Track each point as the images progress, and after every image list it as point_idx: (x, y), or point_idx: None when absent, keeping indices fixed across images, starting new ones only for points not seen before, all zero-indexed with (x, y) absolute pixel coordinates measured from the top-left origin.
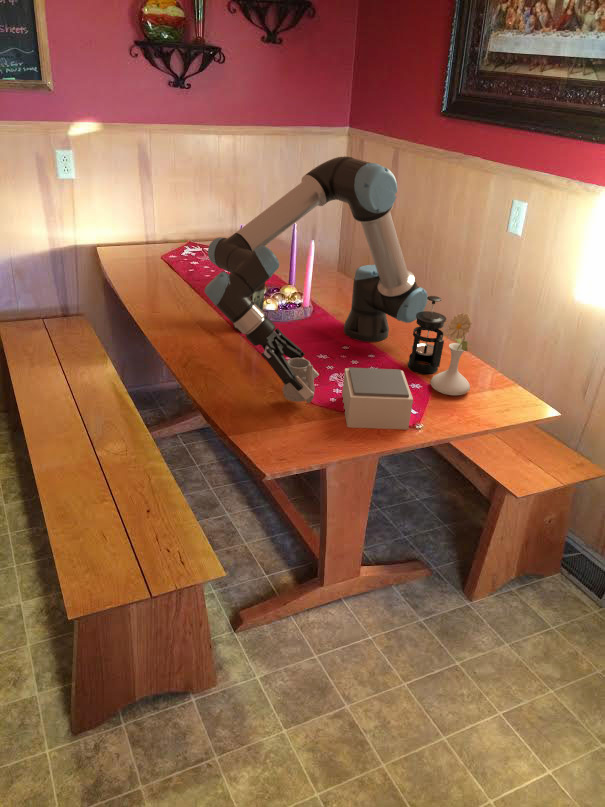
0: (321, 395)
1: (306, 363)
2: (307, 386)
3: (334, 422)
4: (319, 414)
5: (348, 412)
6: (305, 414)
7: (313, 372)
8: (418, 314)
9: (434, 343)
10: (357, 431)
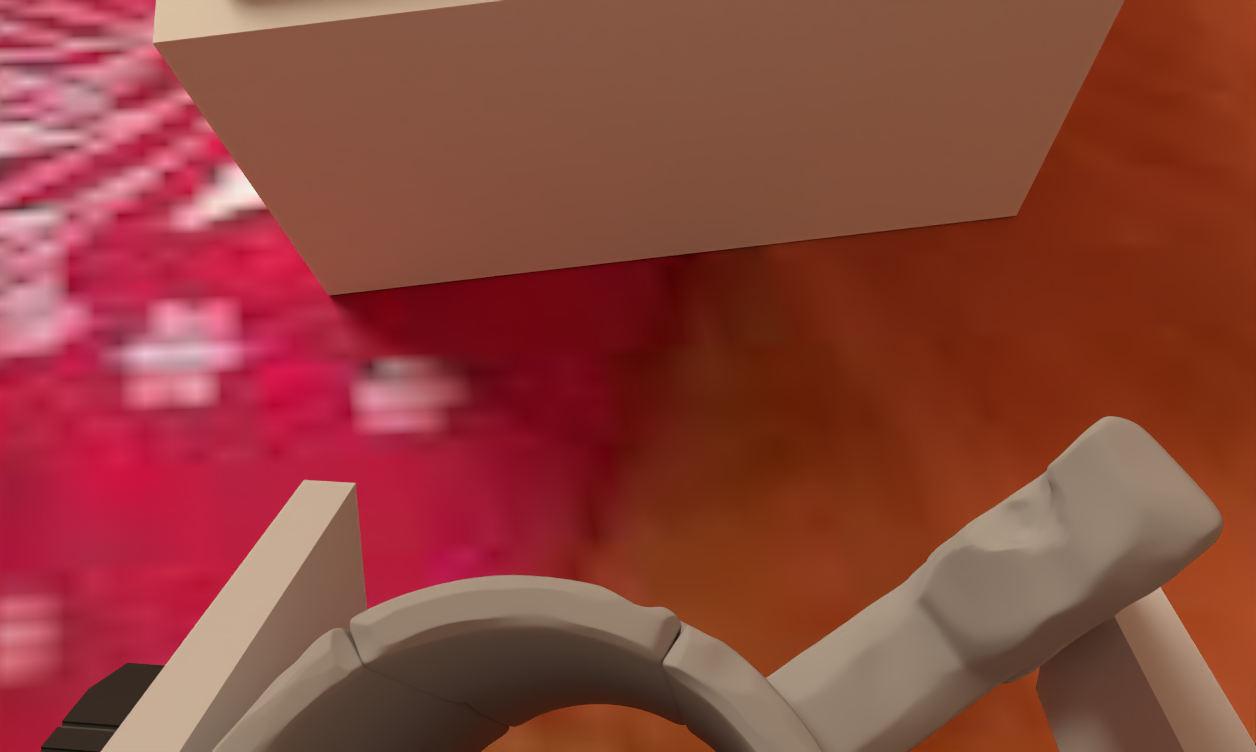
0: None
1: (350, 705)
2: (1148, 640)
3: (946, 352)
4: (800, 536)
5: (1032, 114)
6: None
7: (323, 572)
8: None
9: None
10: (1066, 117)
